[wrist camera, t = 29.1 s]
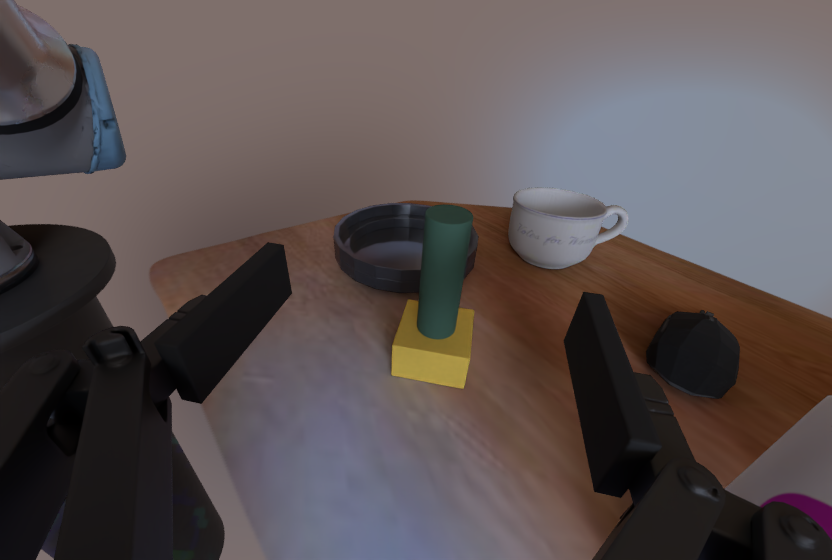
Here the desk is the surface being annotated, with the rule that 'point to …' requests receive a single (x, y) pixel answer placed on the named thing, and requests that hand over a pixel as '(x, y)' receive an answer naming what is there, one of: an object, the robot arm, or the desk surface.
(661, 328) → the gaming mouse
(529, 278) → the desk surface
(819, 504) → the supplement can
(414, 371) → the green peg on stand
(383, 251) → the bowl
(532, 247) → the teacup
